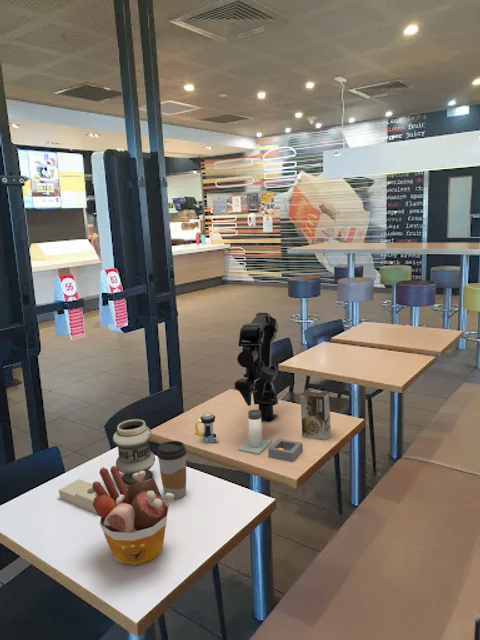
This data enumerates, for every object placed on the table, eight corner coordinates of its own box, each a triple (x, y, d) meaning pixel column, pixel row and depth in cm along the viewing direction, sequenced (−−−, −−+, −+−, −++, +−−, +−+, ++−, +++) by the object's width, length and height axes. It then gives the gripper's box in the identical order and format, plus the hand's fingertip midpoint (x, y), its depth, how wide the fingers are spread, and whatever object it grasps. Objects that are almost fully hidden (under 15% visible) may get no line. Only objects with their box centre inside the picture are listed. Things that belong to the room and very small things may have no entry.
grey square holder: (279, 446, 174) (279, 437, 173) (302, 450, 169) (302, 441, 169) (268, 457, 166) (268, 447, 166) (292, 461, 162) (292, 452, 162)
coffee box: (331, 433, 182) (330, 391, 179) (325, 440, 176) (324, 396, 173) (307, 430, 186) (306, 388, 183) (301, 436, 181) (299, 394, 178)
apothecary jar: (110, 479, 157) (104, 425, 154) (142, 465, 166) (137, 413, 162) (131, 492, 149) (125, 435, 146) (164, 476, 157) (159, 422, 154)
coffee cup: (178, 484, 152) (174, 437, 150) (195, 493, 146) (191, 445, 144) (155, 495, 147) (150, 447, 144) (172, 505, 141) (168, 455, 138)
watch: (211, 434, 188) (211, 419, 186) (208, 437, 185) (208, 422, 184) (197, 431, 190) (197, 417, 189) (193, 434, 188) (193, 419, 186)
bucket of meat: (190, 543, 123) (184, 468, 120) (144, 585, 110) (135, 502, 106) (131, 521, 134) (124, 452, 130) (82, 557, 120) (72, 481, 117)
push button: (222, 440, 181) (221, 414, 180) (213, 446, 177) (211, 419, 175) (208, 436, 185) (206, 410, 183) (199, 442, 181) (197, 415, 179)
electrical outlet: (78, 476, 153) (119, 491, 143) (80, 488, 154) (120, 504, 144) (58, 486, 147) (99, 503, 137) (60, 499, 148) (100, 516, 138)
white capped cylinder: (255, 441, 178) (254, 408, 176) (264, 444, 174) (263, 411, 172) (246, 445, 175) (245, 412, 173) (255, 448, 171) (254, 415, 170)
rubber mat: (251, 439, 181) (251, 437, 181) (271, 442, 177) (271, 441, 177) (238, 450, 172) (238, 449, 172) (259, 454, 168) (258, 453, 168)
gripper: (261, 368, 167) (263, 413, 170) (284, 354, 183) (286, 395, 186) (232, 365, 172) (235, 409, 175) (257, 352, 188) (259, 392, 191)
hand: (255, 401), depth 182 cm, fingers open, 9 cm apart
